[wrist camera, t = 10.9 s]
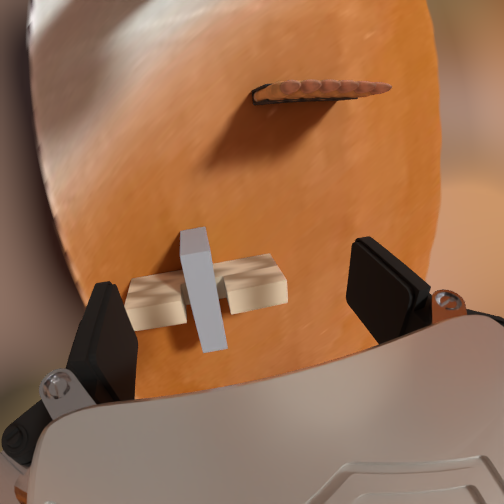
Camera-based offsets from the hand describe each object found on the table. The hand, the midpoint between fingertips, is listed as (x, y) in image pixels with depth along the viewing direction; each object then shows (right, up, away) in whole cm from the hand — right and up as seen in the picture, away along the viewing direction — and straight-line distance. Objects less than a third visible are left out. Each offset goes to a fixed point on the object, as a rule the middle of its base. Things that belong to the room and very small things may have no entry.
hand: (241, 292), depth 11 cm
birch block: (-6, -2, +26) cm, 27 cm away
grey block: (-6, -2, +26) cm, 27 cm away
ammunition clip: (+6, +20, +19) cm, 28 cm away
